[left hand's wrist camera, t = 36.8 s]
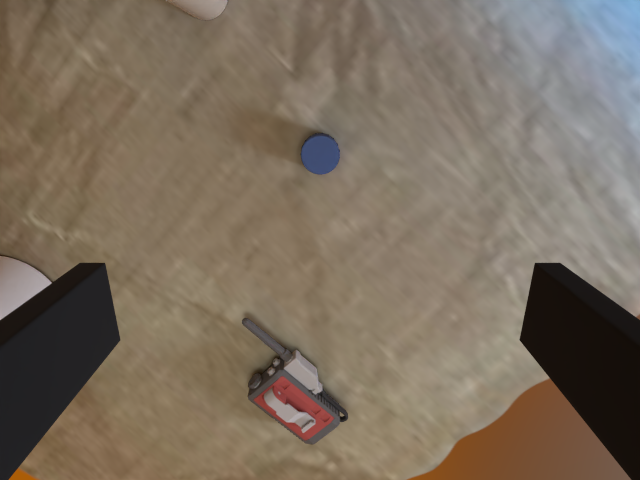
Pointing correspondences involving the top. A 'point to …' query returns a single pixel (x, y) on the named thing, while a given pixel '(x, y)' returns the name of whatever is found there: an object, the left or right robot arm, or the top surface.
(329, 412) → the walkie-talkie
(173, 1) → the bottle
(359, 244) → the top surface
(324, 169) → the cap
